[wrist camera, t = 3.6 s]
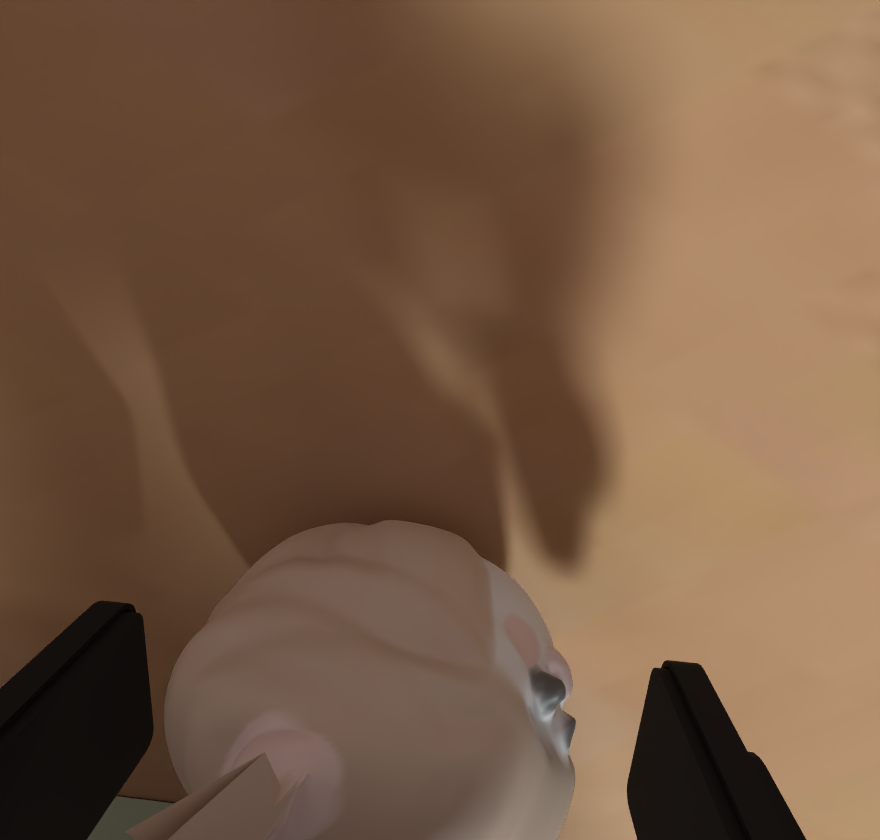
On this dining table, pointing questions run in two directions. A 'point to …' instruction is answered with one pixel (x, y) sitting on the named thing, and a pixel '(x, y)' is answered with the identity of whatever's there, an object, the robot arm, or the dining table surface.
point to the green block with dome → (125, 817)
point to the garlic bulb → (369, 699)
